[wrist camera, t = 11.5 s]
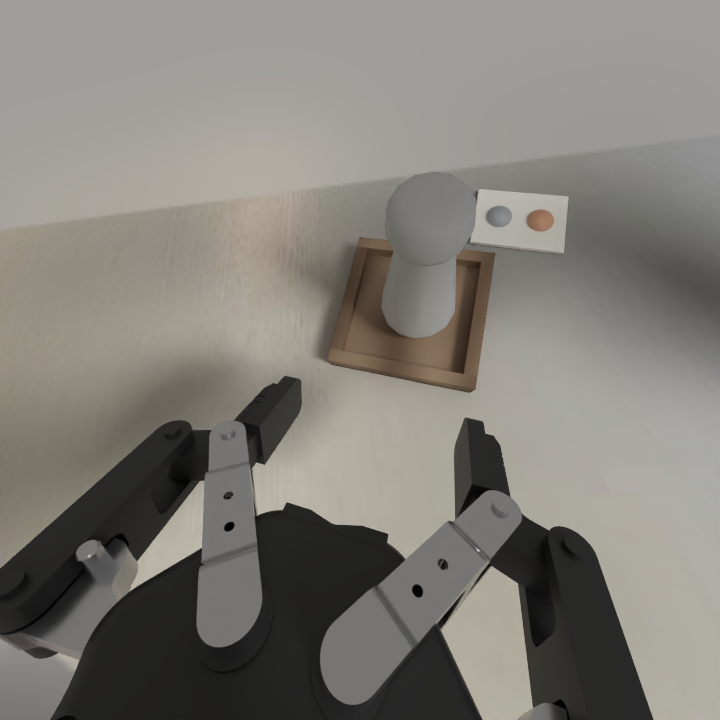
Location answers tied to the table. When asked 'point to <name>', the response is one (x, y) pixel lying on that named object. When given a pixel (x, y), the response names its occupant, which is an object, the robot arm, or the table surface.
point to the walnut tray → (401, 353)
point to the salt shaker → (425, 251)
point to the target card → (520, 221)
